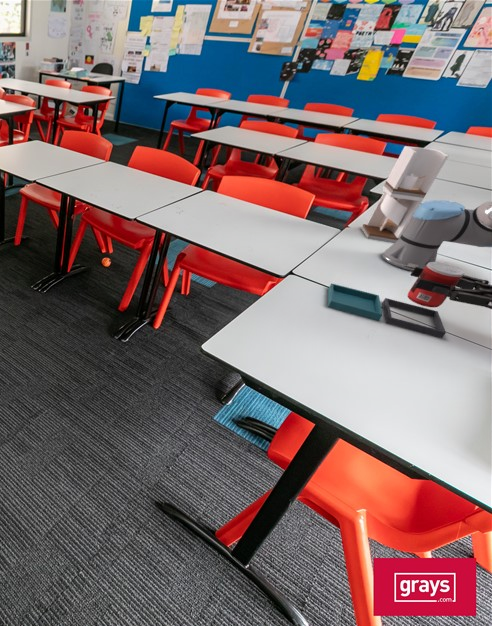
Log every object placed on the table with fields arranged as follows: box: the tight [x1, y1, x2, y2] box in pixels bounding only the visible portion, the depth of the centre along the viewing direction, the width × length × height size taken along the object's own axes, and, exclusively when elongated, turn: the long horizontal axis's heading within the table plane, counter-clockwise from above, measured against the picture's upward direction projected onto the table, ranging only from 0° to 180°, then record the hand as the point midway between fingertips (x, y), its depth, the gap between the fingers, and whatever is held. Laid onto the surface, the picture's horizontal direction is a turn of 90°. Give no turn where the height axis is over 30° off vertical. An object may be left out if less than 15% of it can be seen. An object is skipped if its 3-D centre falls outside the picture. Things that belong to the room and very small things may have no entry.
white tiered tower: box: [360, 145, 449, 243], centre depth 171 cm, size 11×11×35 cm
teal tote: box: [327, 283, 384, 322], centre depth 132 cm, size 13×13×2 cm
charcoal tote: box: [381, 297, 447, 339], centre depth 126 cm, size 13×13×2 cm
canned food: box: [407, 261, 465, 308], centre depth 120 cm, size 8×8×11 cm
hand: (415, 276), depth 121 cm, fingers closed on canned food, 8 cm apart
